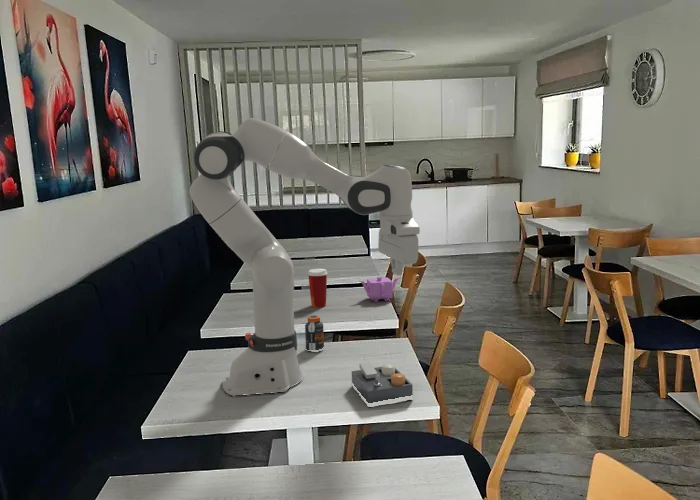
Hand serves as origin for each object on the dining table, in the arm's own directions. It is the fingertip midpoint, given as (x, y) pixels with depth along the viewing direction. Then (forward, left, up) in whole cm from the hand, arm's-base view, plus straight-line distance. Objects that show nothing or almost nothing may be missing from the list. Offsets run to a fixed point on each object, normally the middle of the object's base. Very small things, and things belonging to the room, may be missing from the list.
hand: (397, 274), depth 160 cm
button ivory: (-6, -7, -28) cm, 29 cm away
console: (-9, -10, -30) cm, 33 cm away
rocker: (-11, -7, -24) cm, 27 cm away
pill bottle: (-17, +29, -30) cm, 46 cm away
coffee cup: (-3, +79, -30) cm, 85 cm away
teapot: (+23, +79, -30) cm, 88 cm away
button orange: (-6, -14, -28) cm, 31 cm away
